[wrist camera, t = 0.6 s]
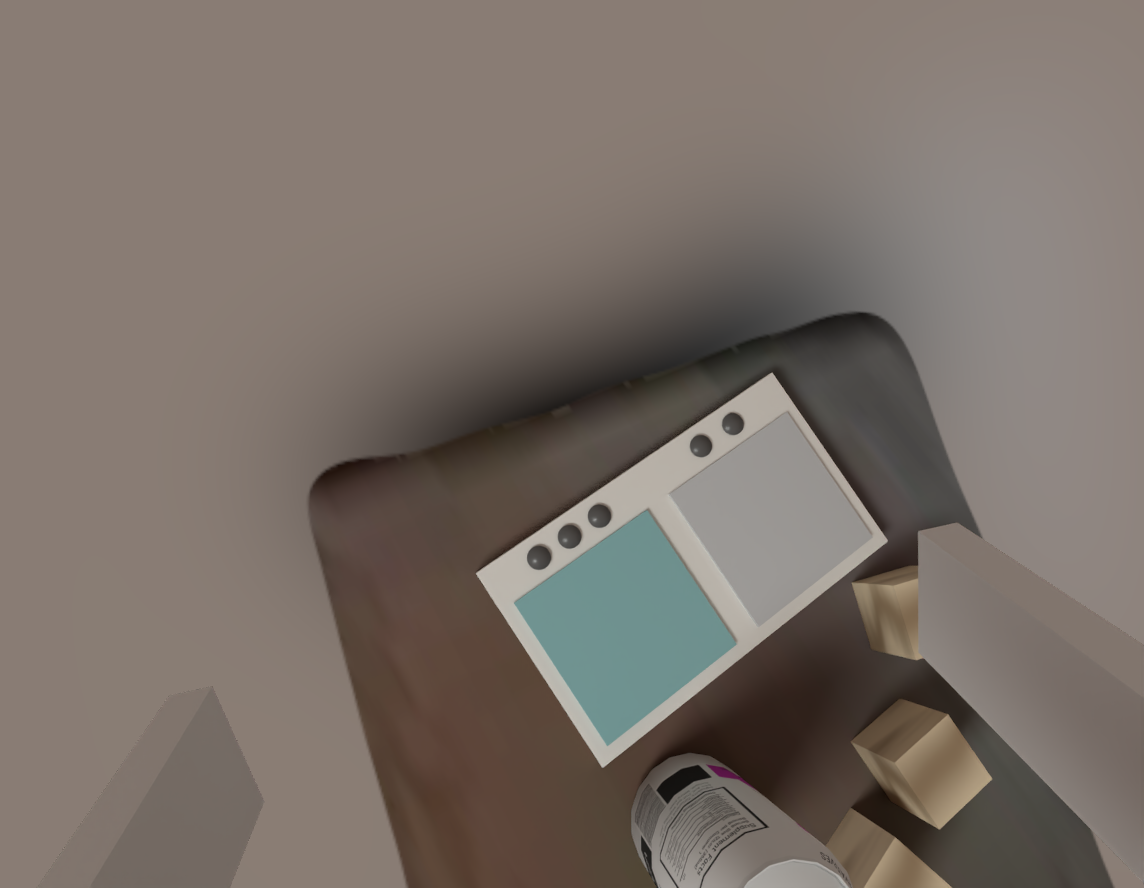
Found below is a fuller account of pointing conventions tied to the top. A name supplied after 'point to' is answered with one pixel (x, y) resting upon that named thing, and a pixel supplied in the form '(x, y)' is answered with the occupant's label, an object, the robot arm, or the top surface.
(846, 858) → the maple block
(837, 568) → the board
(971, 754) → the maple block
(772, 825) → the supplement can
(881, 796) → the top surface
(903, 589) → the maple block
